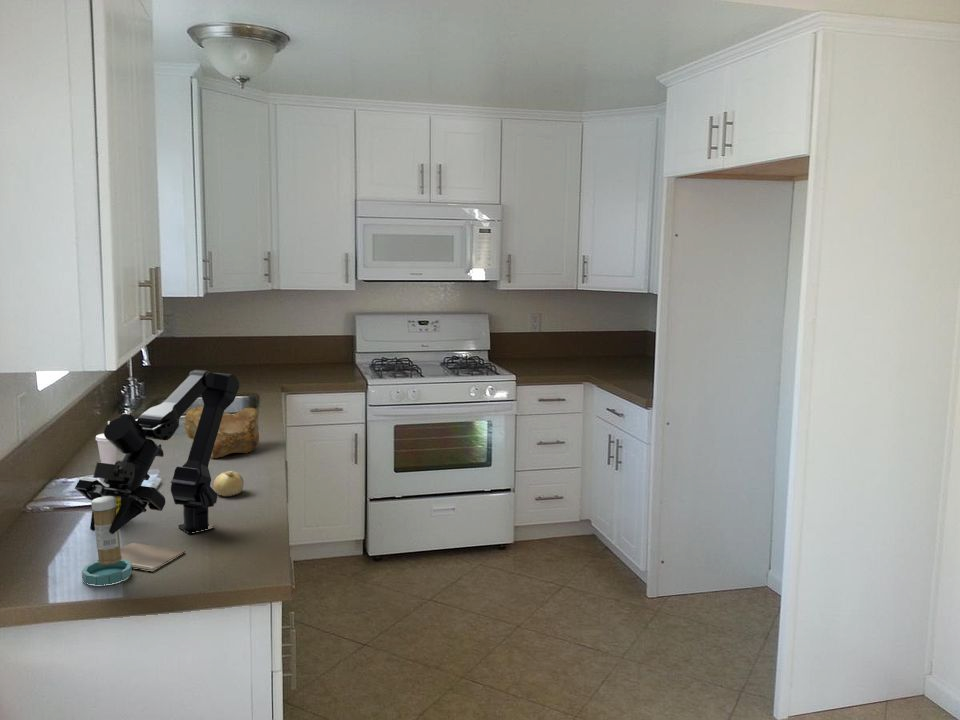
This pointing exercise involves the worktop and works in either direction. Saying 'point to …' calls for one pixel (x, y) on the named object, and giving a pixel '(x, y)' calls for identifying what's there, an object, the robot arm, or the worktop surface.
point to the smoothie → (106, 449)
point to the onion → (228, 483)
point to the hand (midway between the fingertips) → (101, 531)
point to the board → (147, 555)
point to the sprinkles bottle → (106, 530)
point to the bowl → (106, 572)
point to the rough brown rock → (229, 431)
